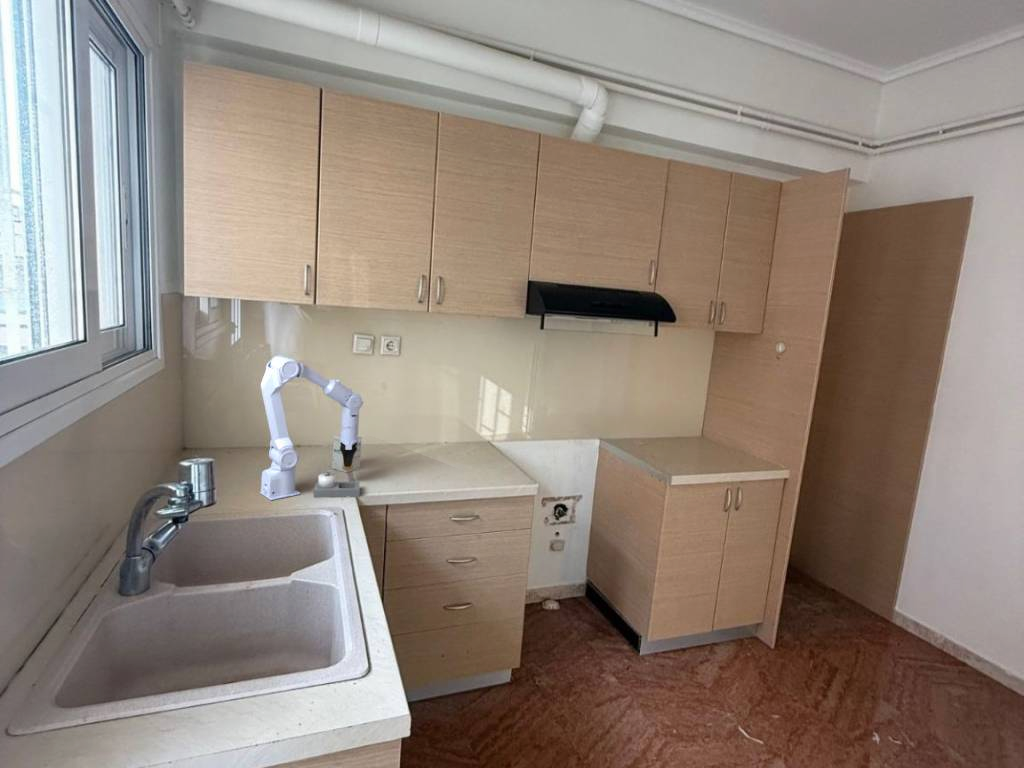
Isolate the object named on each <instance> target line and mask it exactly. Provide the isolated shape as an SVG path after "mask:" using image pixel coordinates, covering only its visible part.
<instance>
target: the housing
mask: <svg viewBox="0 0 1024 768" xmlns="http://www.w3.org/2000/svg"><path fill="white" fill-rule="evenodd" d="M317 479H318V481H315V483H314V488H313V498H314V497H330V498H348V497H347V496H351V497H350V498H360V481H336V474H334V473H330V472H329V471H324V472H323V473H320V474H318V477H317Z"/></svg>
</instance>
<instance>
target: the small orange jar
mask: <svg viewBox="0 0 1024 768" xmlns="http://www.w3.org/2000/svg"><path fill="white" fill-rule="evenodd" d="M353 459H354V456H353ZM342 469H343V470H352V469H353V460H352V464H351V467H345V466H344V461H343V462H342Z"/></svg>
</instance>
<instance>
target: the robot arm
mask: <svg viewBox="0 0 1024 768" xmlns="http://www.w3.org/2000/svg"><path fill="white" fill-rule="evenodd" d="M265 368H266V369H265V372H264V375H263V377H262V380H261V383H260V389H261V395H262V400H263V404H264V408H265V415H266V418H267V419H266V420H267V424H268V429H269V432H270V439H271V440H270V442H269V446H270V448H269V452H268V456H269V459H270V460H271V461H272V462H271V465H270V467H269V468H267V469H264V470H262V472H261V482H260V483H261V486H260V488H261V489H260V493H259V494H261V495H262V496H264V497H265V498H266V499H268V500H269V501H274V500H279V499H284V498H289V497H293V496H298V495H301V492H300V491H298V490H296V465H297V464H298V463H299V459H300V458H299V457H300V456H299V453H298V452H297V451H296V450H295V448H294V443H293V442H292V440H291V437H290V434H289V429H288V423H287V420H286V419H287V418H286V415H285V409H284V408H285V407H284V405H283V404H284V403H283V400H282V393H281V389H282V388H283V387H284V386H285V385H286V384H287V383H289V382H290V381H292V380H294V379H295V378H298V379H302V378H303V379H306V380H308V381H310V382H311V383H313V384H314V385H317V386H318V387H320V388H321V389H322V392H323V394H324V395H325V396H327V397H329V399H332V400H333V401H335V402H337V403H338V404H340V405H341V406H342V407H341V418H340V420H341V422H340V435H341V437H340V442H341V443H340V444H341V446H340V450H341V452H342V455H343V461H344V466H345V467H351V464H352V460H353V456H354V454H355V452H356V450H357V447H356V445H357V442H360V441H361V442H362V437H361V438H358V437H359V425H360V423H359V420H360V410H361V408H362V406H363V404H364V401H363V399H362V397H361V395H360V394H358V393H356V392H354V391H352V390H353V389H352V388H350V387H346V386H345V384H344V385H343V384H342V381H341V380H339V379H336V380H335V379H327V378H325V377H324V376H323V375H321V374H320V373H318V372H316V370H313V368H311V367H309V365H306V364H304V363H301V362H299V361H297V360H296V359H294V358H289V357H286V356H284V355H276V356H274V357H272V358H271V359H270V360H269V362H267V364H266V367H265Z"/></svg>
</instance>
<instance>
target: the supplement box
mask: <svg viewBox="0 0 1024 768" xmlns="http://www.w3.org/2000/svg"><path fill="white" fill-rule="evenodd" d="M340 437H341V434H339V435H334V436H333V449H332V463H331V465H332V466H331V468H332V470H333V469H334V470H337V471H340V472H344V473H349V472H353V471H355V470H359V469H360V465H361V454H362V453H361V451H362V450H361V449H362V440H361V441H360V442H357V445H356V447H357V450H356V452H355V454H354V459H353V469H352V470H343V469H342V462H343V455H342V452H341V450H340V446H341V444H340V443H341V442H340ZM358 438H361V439H362V437H361V436H358Z"/></svg>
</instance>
